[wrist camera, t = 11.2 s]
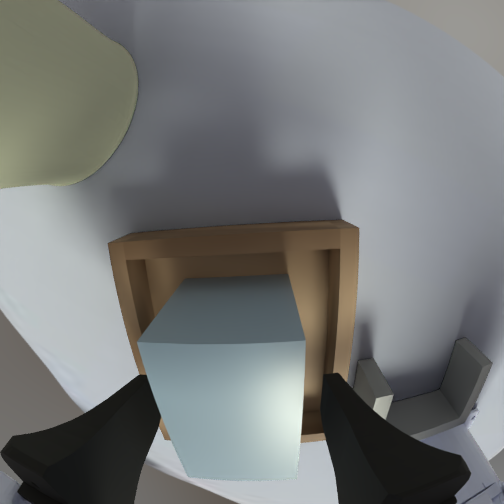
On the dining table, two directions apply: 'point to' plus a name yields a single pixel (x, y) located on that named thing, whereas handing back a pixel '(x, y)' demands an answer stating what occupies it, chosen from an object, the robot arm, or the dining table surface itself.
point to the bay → (428, 394)
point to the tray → (250, 264)
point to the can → (59, 95)
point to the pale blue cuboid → (230, 376)
